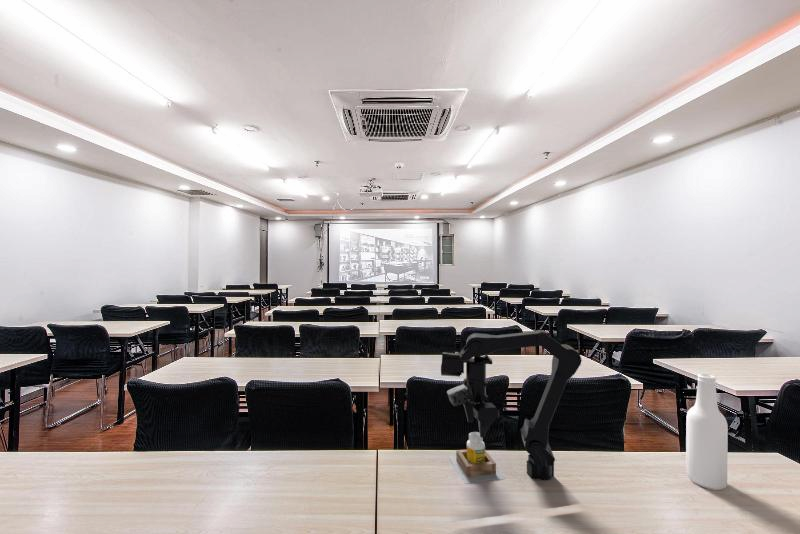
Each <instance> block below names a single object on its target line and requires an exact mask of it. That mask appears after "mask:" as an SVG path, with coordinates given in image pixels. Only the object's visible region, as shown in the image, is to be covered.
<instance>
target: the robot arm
mask: <svg viewBox="0 0 800 534" xmlns="http://www.w3.org/2000/svg"><path fill="white" fill-rule="evenodd" d="M465 344H466V345H465V346H464V347H463V348H462V349H461V350H460V353H456V352H455V353H454V352H453V353H452V352H446V351H444V352H443V351H442V353H441V364H440V375H441V376H445V377H461V376H462V375H463V374H464V373H465V378H463V380H462V384H461V385H457V386H455V387H452V388H450V389H448V390H447V391H446V394H447V397H448V401H449V402H450V403H451V404H452V405H453V407H458V406H460V405H463V409H464V411H465V415H466V419H467V423H469V424H472V422H473V421H474V418H475V419H476V420H477V423H478V425H477V426H478V431H479V432H478V433H480V437H481V438H482V437H483V438H485V436H486V435H487V432H488V431H489V429H490V427H491V425H492V424H493V422H494V421H495V420H496V419H499V418H500V409H499V408H498V407H497V406H496V405H494V404H493V403H492V402H485V401H489V396H488V395H487V391H486V390H487V387H489V382H488V381H487V365H492V364H493V359H492V358H491V357H489V355H490V354H492V353H495V352H498V351H503V350H512V349H513V350H514V349H520V348H521V349H522V348H531V347H533V348H534V347H542V348H543V349H545V350H546V351H547V352H548V353H550V354H551V355H552V361H551V371H550V372H551V373H550V375H549V378H548V381H547V384H546V386H545V388H544V391H543V393H542V396H541V398H540V401H539V404H538V405H537V409H536V411H535V414H534V416H533V417H532V418H530V420H529V419H528V418H524V422H523V425H522V428H520V432H521V439H522V443H523V445H524V449H525V451H526V452H527V453H528V456H527V458H528V460H526V474H527V475H528V477H530V479H532V480H533V479H534V480H539V481H549V480H552V478H554V477H555V461H556V458H555V455H554V453H553V451H552V449H551V446H550V444H549V430H550V425H551V423H552V420H553V417H554V414H555V412H556V410H557V407H558V404H559V402H560V400H561V398H562V395H563V392H564V390H565V388H566V385H567V382H568V381H569V380H570V379H572V377H574V376H575V374H576V372H577V371H578V369H579V367H581V365H582V361H583V360H582V357H581V354H580V353H579V352H578V351H577V350H576V349H574V348H573V347H572V346H571V345H569V344H562V343H560V342H559V341H558V340H557V339H555V338H553V337H552V336H551V335H549V334H548V332H546V331H545V330H543V329H537V330H534V331H532V330H531V331H526V332H517V333H516V332H515V333H506V334H497V335H495V334H488V333H477V332H475V333H471V334H470V335H469V336H467V339H466V343H465ZM465 365H466V366H465ZM465 370H466V371H465Z"/></svg>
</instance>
